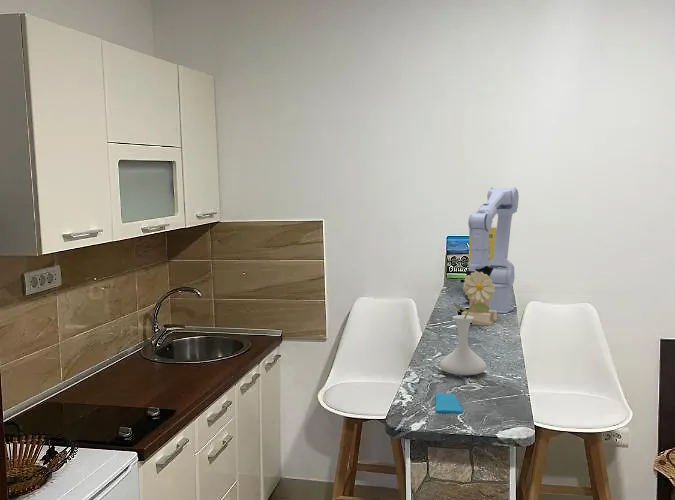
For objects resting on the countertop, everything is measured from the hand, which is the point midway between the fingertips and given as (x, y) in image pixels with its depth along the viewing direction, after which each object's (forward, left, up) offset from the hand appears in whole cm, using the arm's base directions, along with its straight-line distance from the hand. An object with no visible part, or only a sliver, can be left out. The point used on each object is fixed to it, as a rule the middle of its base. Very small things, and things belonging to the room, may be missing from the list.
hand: (479, 290), depth 234 cm
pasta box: (-54, -18, -11) cm, 58 cm away
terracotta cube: (+1, +1, -7) cm, 7 cm away
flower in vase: (+62, +20, -11) cm, 66 cm away
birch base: (+1, +1, -10) cm, 10 cm away
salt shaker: (-31, -14, -11) cm, 36 cm away
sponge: (+87, +25, -11) cm, 91 cm away
